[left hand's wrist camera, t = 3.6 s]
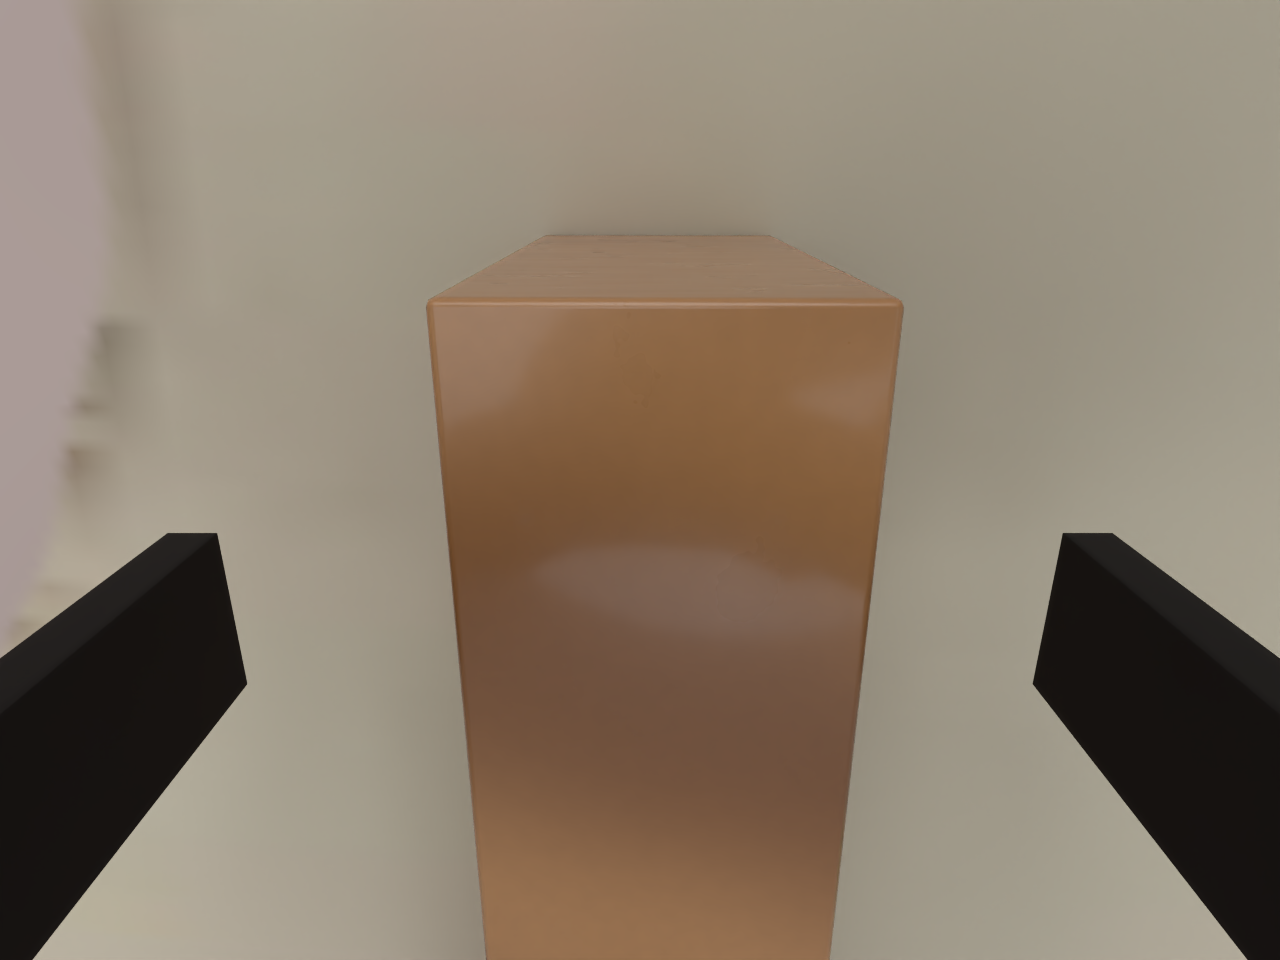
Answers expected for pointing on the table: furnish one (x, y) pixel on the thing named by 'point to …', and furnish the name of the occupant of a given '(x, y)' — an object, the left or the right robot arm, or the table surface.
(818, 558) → the wooden plank
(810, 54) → the table surface
